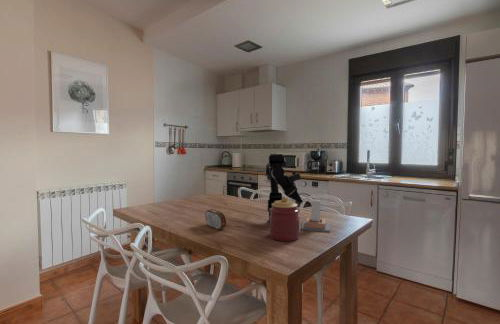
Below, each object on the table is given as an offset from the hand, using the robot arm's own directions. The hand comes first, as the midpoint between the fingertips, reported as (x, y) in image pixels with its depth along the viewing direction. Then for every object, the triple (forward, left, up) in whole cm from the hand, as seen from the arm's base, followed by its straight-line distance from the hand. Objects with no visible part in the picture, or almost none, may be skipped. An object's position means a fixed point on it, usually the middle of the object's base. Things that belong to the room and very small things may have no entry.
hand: (301, 200), depth 131 cm
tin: (-39, +18, -13) cm, 45 cm away
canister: (-18, -10, -13) cm, 24 cm away
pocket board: (+4, -6, -13) cm, 14 cm away
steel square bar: (+4, -6, -12) cm, 14 cm away
